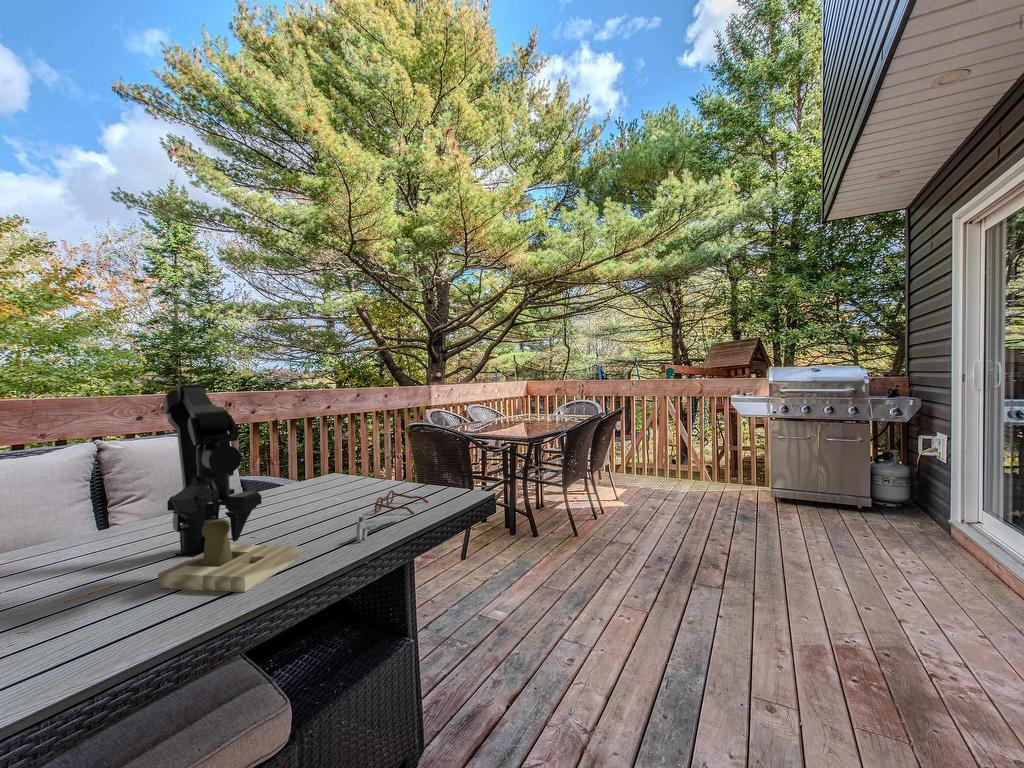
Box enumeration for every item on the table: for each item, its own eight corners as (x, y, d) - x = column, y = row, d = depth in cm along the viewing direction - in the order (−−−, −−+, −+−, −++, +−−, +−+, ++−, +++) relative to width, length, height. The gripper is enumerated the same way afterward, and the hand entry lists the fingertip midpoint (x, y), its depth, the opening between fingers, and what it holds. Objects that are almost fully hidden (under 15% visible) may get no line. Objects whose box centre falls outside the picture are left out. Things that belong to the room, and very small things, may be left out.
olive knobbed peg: (206, 568, 101) (203, 518, 100) (237, 563, 103) (235, 514, 103) (197, 579, 95) (195, 526, 95) (231, 573, 97) (228, 522, 97)
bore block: (158, 588, 92) (157, 573, 92) (222, 557, 108) (221, 544, 108) (245, 592, 88) (244, 577, 88) (298, 559, 104) (297, 546, 104)
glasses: (391, 503, 151) (391, 488, 151) (429, 503, 149) (428, 488, 149) (373, 515, 138) (372, 499, 138) (414, 516, 136) (413, 499, 136)
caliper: (360, 544, 113) (359, 518, 113) (356, 543, 114) (355, 518, 114) (402, 518, 133) (401, 497, 133) (399, 518, 133) (398, 497, 133)
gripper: (140, 477, 92) (144, 553, 92) (220, 476, 89) (224, 556, 89) (188, 466, 103) (192, 534, 103) (261, 465, 100) (265, 536, 100)
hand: (216, 540), depth 99 cm, fingers open, 9 cm apart
